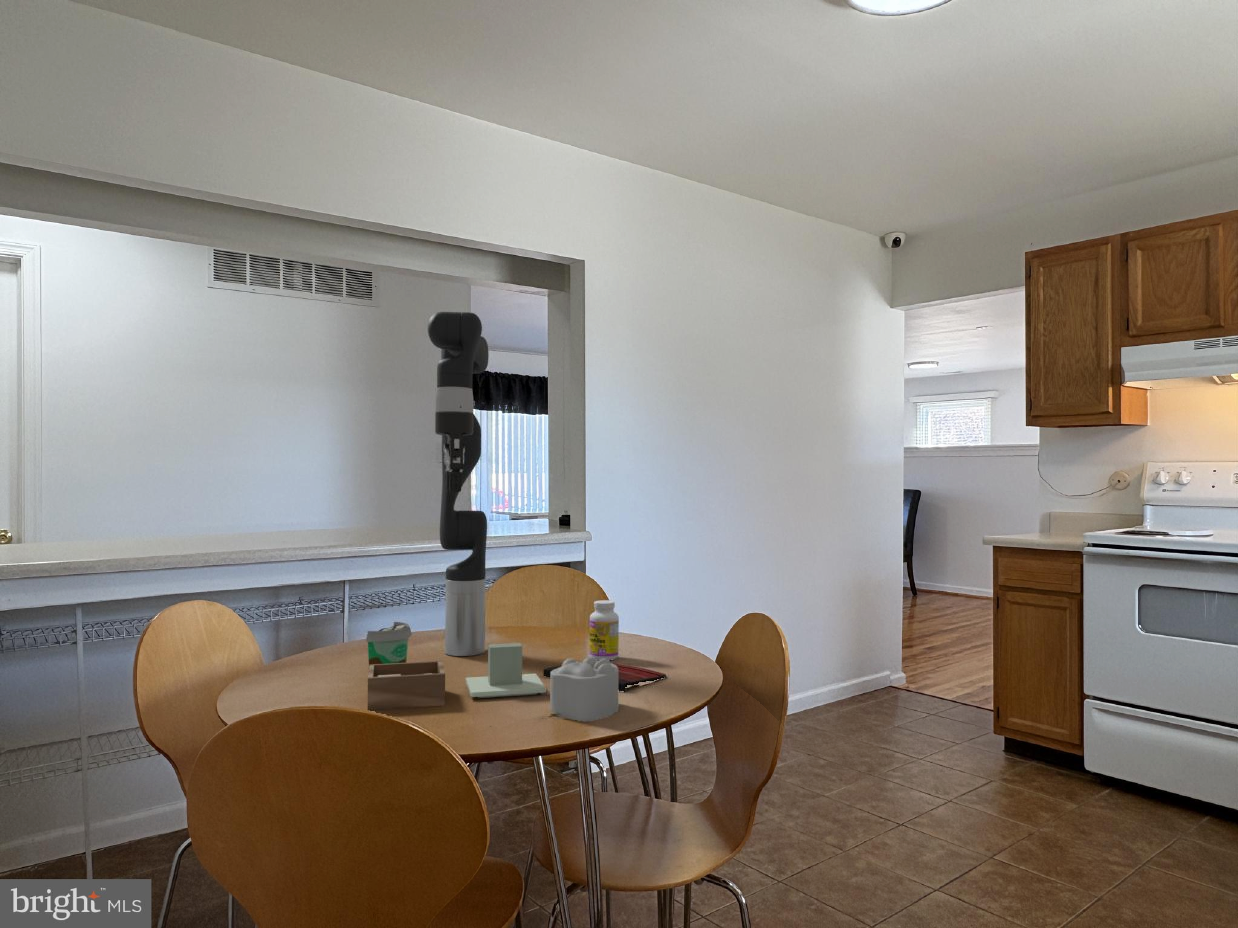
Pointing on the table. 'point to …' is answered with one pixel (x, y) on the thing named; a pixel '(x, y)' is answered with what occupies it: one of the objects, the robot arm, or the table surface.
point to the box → (406, 685)
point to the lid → (504, 675)
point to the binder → (625, 675)
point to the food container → (388, 644)
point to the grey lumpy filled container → (584, 689)
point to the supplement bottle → (604, 631)
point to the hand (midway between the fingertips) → (453, 491)
